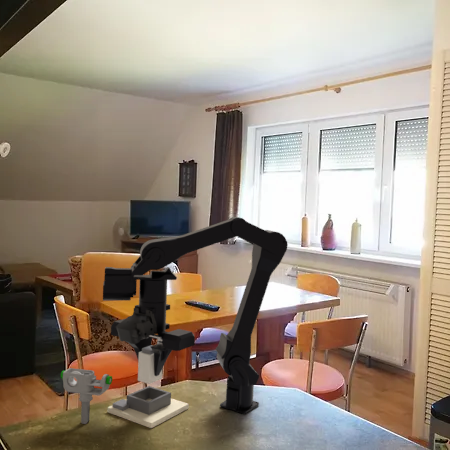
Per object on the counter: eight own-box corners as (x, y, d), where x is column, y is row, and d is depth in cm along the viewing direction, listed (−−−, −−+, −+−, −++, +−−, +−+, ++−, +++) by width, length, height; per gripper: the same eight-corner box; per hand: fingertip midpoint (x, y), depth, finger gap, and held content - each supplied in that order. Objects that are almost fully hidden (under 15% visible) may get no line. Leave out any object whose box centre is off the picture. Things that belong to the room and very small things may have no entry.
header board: (146, 394, 115) (146, 379, 115) (188, 408, 109) (189, 392, 109) (107, 412, 105) (107, 395, 105) (151, 428, 99) (152, 410, 98)
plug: (150, 375, 109) (151, 344, 109) (161, 378, 107) (163, 347, 107) (137, 380, 106) (138, 348, 105) (149, 384, 104) (150, 351, 104)
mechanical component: (105, 428, 98) (107, 377, 97) (57, 421, 100) (58, 371, 99) (112, 422, 101) (114, 372, 100) (65, 415, 103) (66, 367, 102)
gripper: (92, 299, 104) (90, 374, 105) (162, 313, 94) (159, 396, 95) (130, 292, 113) (128, 361, 114) (197, 304, 103) (194, 379, 104)
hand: (150, 373), depth 107 cm, fingers closed on plug, 3 cm apart
